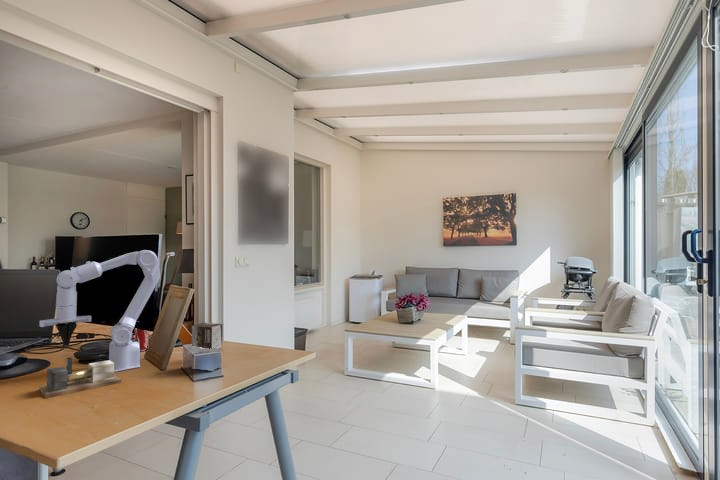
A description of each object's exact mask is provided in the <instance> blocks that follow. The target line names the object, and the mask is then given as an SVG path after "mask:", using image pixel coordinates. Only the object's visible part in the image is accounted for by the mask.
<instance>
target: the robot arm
mask: <svg viewBox="0 0 720 480" xmlns="http://www.w3.org/2000/svg"><path fill="white" fill-rule="evenodd" d="M124 265H134V266H135V265H138V266H139V267H140V268H141V269H142V272H143V275H144V278H143V280H142V282H141V283H140V285H139V287H138V289H137V290H136V293H135V294H134V296H133V298H132V299H131V301H130V303H129V305H128V307H127V308H126V310H125V312H124V313H123V315H122V317H121V318H120V319H119V321H118V322H117V323H116V324H114V325H113V327H111V330H110V337H111V342H109V345H108V347H109V349H108V350H109V352H108V353H109V354H108V355H109V356H108V359H109V360H110V361H112V362H113V363H114V373H116V372H121V371H127V370H131V369H137V368H141V365H140V363H141V362H140V361H141V360H140V358H141V357H140V356H141V352H140V347H139V344H138V342H135V341H133V340H132V338H133V337H132V336H133V330H134V329H135V325H136V322H137V320H138V319H139V317H140V315H141V314H142V311H143V310H144V308H145V306H146V304H147V302H148V301H149V299H150V297H151V295H152V294H153V291H154V290H155V287H156V286H157V284H158V283H159V281H160V279H161V270H160V260H159V257H158V256H157V254H156V253H155V252H154V251H152V250H149V249H148V250H147V249H143V250H140V251H133V252H129V253H125V254H123V255H119V256H117V257H114V258H111V259H109V260H105V261H103V262H96V261H90V260H89V261H86V262H85V264H81V265H79V266H76V267H74V266H71V267H70V270H69V269H67V270H63V271H61V272H59V274H58V275H57V276H56V283H57V287H56V290H57V292H56V296H55V297H56V299H55V300H56V302H55V303H56V304H55V307H56V308H55V309H56V310H55V312H56V313H55V318H49V319H42V320H39V325H38V326H39V327H40V328H45V327H49V326H55V328H56V330H57V332H58V333H59V335H60V339H61V342H62V346H63V347H65V346H67V347H68V346H69V345H70V342H71V339H72V336H73V334H74V332H75V330H76V328H77V326H78V325H77V324H78V323H86V322H87V323H90V322H91V323H92V315H77V305H78V304H77V303H78V302H77V301H78V291H77V283H79V284H82V283H85V282H88V281H90V280H93V279H96V278H99V277H101V276H102V274H103V272H106V271H108V270H112V269H114V268H118V267H122V266H124Z"/></svg>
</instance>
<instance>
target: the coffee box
mask: <svg viewBox="0 0 720 480" xmlns="http://www.w3.org/2000/svg"><path fill="white" fill-rule="evenodd" d="M223 325H224V323H213V322H200V323H197V324H194V325H191V345H192V346H196V347H202V348H209V349H210V348H211V349H212V348H216V349H218V350H219V351H221V355H222V356H223Z"/></svg>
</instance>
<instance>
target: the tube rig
mask: <svg viewBox="0 0 720 480" xmlns="http://www.w3.org/2000/svg"><path fill="white" fill-rule="evenodd" d="M88 369H91V370H92V377H91V378H87V379H82V380H77V381H72V382H67V373H68V370H66V367H64V366H57V367H51V368H47V369H46V384H45V385H41V386H40V385H39V386H38V387H39V388H38V390H39V391H40V392H41V394H42V395H43V396H44V397H45V399H48V398H54V397H58V396H63V395H67V394H68V395H69V394H73V393H77V392H82V391H86V390H87V391H88V390H92V389H95V388H101V387H106V386H111V385H115V384H120V383H122V378H120V377H119V376H118V375H116V374H115V372H114V363H113V362H112V361H110V360H101V361H95V362H91V363H89V362H88Z"/></svg>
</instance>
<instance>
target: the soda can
mask: <svg viewBox="0 0 720 480" xmlns="http://www.w3.org/2000/svg"><path fill="white" fill-rule="evenodd" d="M149 331H150V330H149ZM149 331H147V330H140V329H138V328H135V327H134V342H138V344H139V347H140V351H141V352H146V351H145V350H146V348H147V346H148V347H149V343H150V342H149V337H150V335H149V333H150V332H149Z"/></svg>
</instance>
